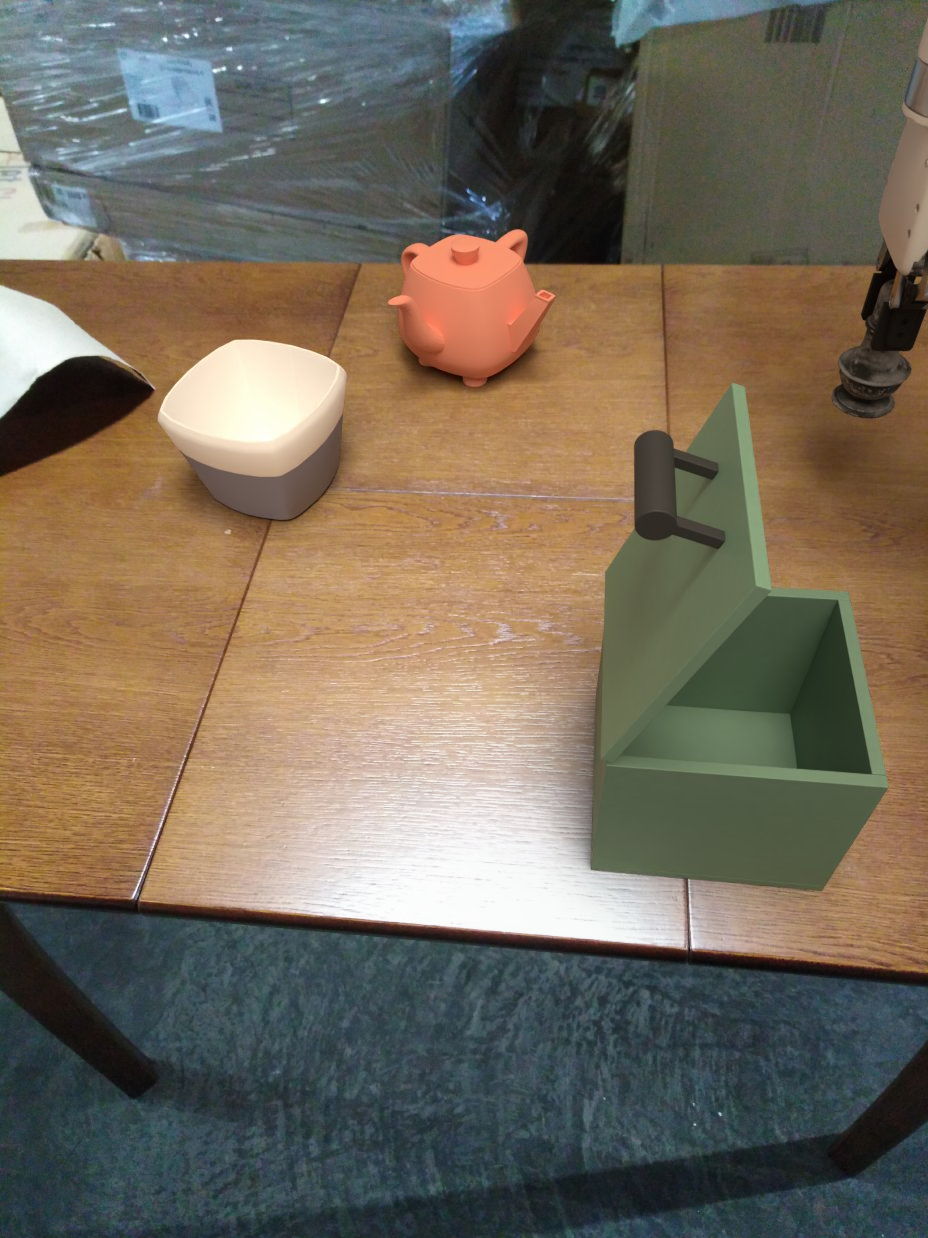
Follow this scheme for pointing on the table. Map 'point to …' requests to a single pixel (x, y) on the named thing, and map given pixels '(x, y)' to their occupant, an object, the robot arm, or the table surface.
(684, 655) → the lid
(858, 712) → the chest
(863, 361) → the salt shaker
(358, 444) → the table surface
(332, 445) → the bowl
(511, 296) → the teapot
